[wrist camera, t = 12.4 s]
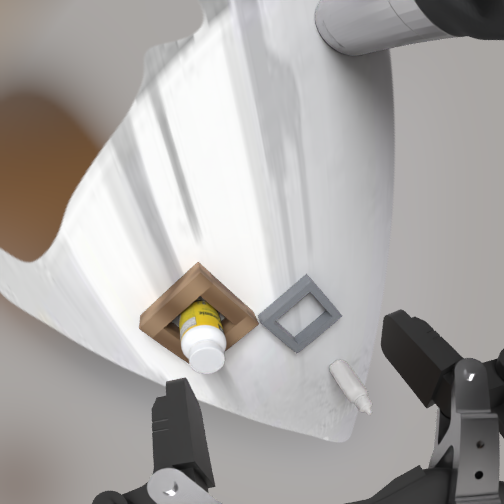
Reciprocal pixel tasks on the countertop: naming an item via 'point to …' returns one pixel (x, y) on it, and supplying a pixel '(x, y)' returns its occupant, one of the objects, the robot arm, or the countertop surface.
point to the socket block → (187, 292)
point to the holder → (289, 301)
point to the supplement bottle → (202, 337)
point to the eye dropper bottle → (351, 385)
